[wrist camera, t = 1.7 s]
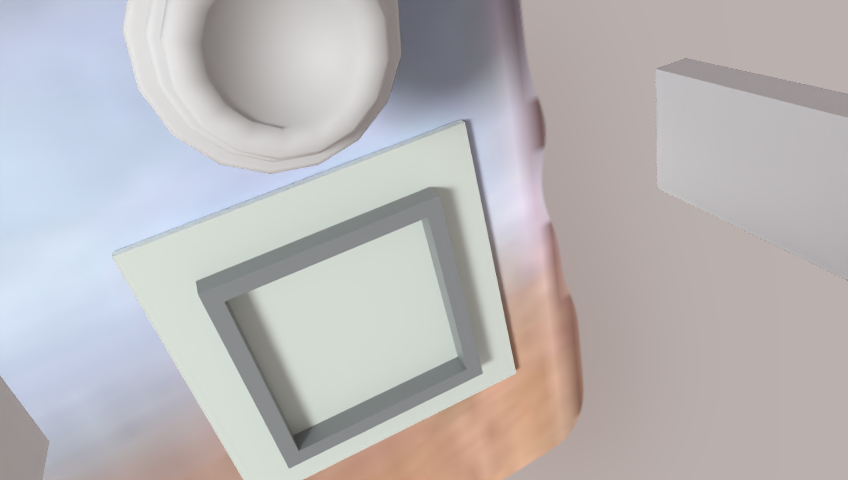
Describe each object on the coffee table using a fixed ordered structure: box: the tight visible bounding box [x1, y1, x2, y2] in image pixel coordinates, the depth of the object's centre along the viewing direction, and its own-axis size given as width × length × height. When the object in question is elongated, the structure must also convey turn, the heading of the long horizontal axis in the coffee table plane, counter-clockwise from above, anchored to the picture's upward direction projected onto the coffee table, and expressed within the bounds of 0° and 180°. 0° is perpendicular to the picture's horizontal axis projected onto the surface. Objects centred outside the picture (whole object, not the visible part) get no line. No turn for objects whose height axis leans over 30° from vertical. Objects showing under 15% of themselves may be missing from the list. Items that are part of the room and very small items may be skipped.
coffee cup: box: [123, 0, 402, 174], centre depth 24 cm, size 9×9×12 cm
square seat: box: [112, 120, 516, 480], centre depth 38 cm, size 20×20×2 cm
